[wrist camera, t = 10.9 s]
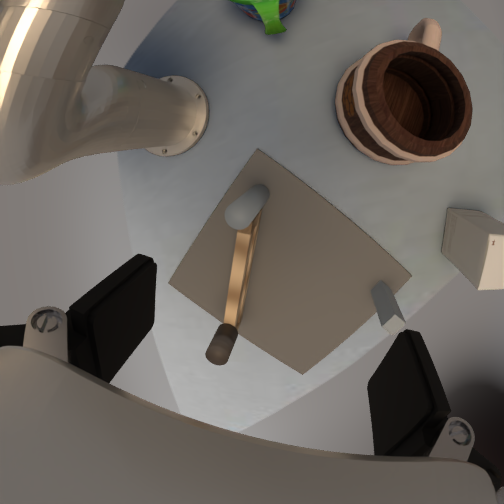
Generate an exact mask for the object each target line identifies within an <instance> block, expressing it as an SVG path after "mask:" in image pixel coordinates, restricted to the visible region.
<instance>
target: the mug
mask: <svg viewBox="0 0 504 504" xmlns="http://www.w3.org/2000/svg"><path fill="white" fill-rule="evenodd" d="M441 36H442V31H441V28H440V26H439V24H438V22H437V21H435V20H433V19H428V18H424V19H422V20H421V21H420V22H419V23H418V24H417V25H416V26H415V27H414V28H413V30H412V31H411V33H410V34H409V37H408V40H407V41H406V40H393V41H390V42H386V43H382V44H379V45H377V46H376V47H375V48H373V49H372V50H371V51H369V52H368V53H367V54H366V55H364V56H363V58H362V59H360V60H358V61H356V62H355V63H354V64H353V65H351V66H350V67H349V68H348V69H347V70H346V71H345V72H344V74H343V76H342V78H341V79H340V81H339V83H338V86H337V92H336V99H335V106H336V112H337V119H338V122H339V124H340V126H341V128H342V130H343V132H344V134H345V136H346V137H347V138H348V139H349V140H350V142H351V143H352V144H353V145H354V146H355V147H356V148H357V149H358V150H359V151H361V152H362V153H364V154H366V155H367V156H369V157H370V158H372V159H373V160H375V161H379V162H382V163H386V164H389V165H408V164H410V163H413V162H433V161H436V160H438V159H441V158H444V157H446V156H449V155H450V154H451V153H452V152H453V151H454V150H455V149H457V148H458V147H459V146H460V145H461V143H462V141H463V140H464V138H465V136H466V134H467V132H468V130H469V128H470V126H471V119H472V102H471V97H470V92H469V89H468V87H467V85H466V82H465V80H464V78H463V76H462V74H461V73H460V72H459V70H458V69H457V68H456V67H455V65H454V64H453V63H452V62H451V60H449V59H448V58H447V57H446V56H444V55H443V54H442V53H440V52H439V47H440V42H441Z"/></svg>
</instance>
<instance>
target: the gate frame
mask: <svg viewBox="0 0 504 504" xmlns="http://www.w3.org/2000/svg"><path fill="white" fill-rule="evenodd" d="M269 196H270V192H269V190H268V188H267V187H266V186H264V185H262V184H257V185H255V186H253V187H252V188H251V189H249V190H248V191H247V192H245V193H244V194H243V195H242V196H240V197H239V198H238V199H236V200H235V201H234V202H233V203H231V204H230V205H229V206H228V207H227V208H226V210H225V220H226V222H227V224H228V225H229V226H230V227H232V228H234V229H237V230H241V229H245V228H246V227H248V226H249V225H250V223H251V222H252V221H253V219H254V218H255V217H256V215H257V214H258V213H259V211H260V210H261V209H262V207H263V206H264V204H265V203H266V202H267V200H268V199H269ZM370 292H371V295H372V298H373V301H374V304H375V307H376V310H377V313H378V316H379V319H380V323H381V326H382V327H383V328H384V329H385V330H387V331H388V332H389V333H390V334H392V335H394V334H395V333H396V332H397V331H399V330H400V329H401V328H402V327H403V326H404V325H405V324H406V322H405V320H404V317H403V315H402V313H401V311H400V308H399V306H398V304H397V302H396V299H395V297H394V295H393V293H392V291H391V289H390V288H389V287H388V286H387V285H386V284H385V283H384V282H382V281H381V280H380V281H379V282H378V283H377V284H376V285H375V286H374V288H373V289H372V290H371V291H370Z"/></svg>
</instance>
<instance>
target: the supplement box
mask: <svg viewBox="0 0 504 504" xmlns="http://www.w3.org/2000/svg"><path fill="white" fill-rule="evenodd" d="M441 252H442V253H443V254H444V255H445V256H446V257H447V258H448V259H449V260H450V261H451V262H452V263H453V264H454V265H455V266H456V267H457V268H458V269H459V270H460V271H461V272H462V274H463V275H464V276H465V277H466V278H467V279H468V280H469V281H470V282H471V283H472V284H473V285H474V286H475V287H476V289H477V290H492V289H504V223H502V222H500V221H498V220H496V219H494V218H493V217H491V216H489V215H487V214H485V213H483V212H482V211H475V210H466V209H455V208H448V209H447V217H446V224H445V231H444V238H443V244H442V251H441Z"/></svg>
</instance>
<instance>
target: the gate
mask: <svg viewBox="0 0 504 504" xmlns="http://www.w3.org/2000/svg"><path fill="white" fill-rule="evenodd" d="M261 213H262V209H261V210H260V211H259V213H258V214H257V215H256V217H255V218H254V219H253V221H252V222H251V223H250V225H249V226H248V227H246V228H245V229H241V230H238V231H237V238H236V244H235V250H234V257H233V263H232V270H231V276H230V283H229V290H228V296H227V303H226V310H225V317H224V324H221V325H220V326H219V327H218V329H217V331H216V333H215V335H214V337H213V339H212V341H211V343H210V345H209V347H208V349H207V351H206V358H207V359H208V360H209V361H210V362H211V363H213V364H215V365H224V364H226V363H227V361H228V359H229V356H230V354H231V351H232V349H233V346H234V344H235V341H236V339H237V336H238V329H239V326H240V324H241V321H242V315H243V310H244V305H245V299H246V294H247V288H248V283H249V278H250V272H251V267H252V262H253V256H254V251H255V246H256V240H257V235H258V229H259V224H260V219H261Z"/></svg>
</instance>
